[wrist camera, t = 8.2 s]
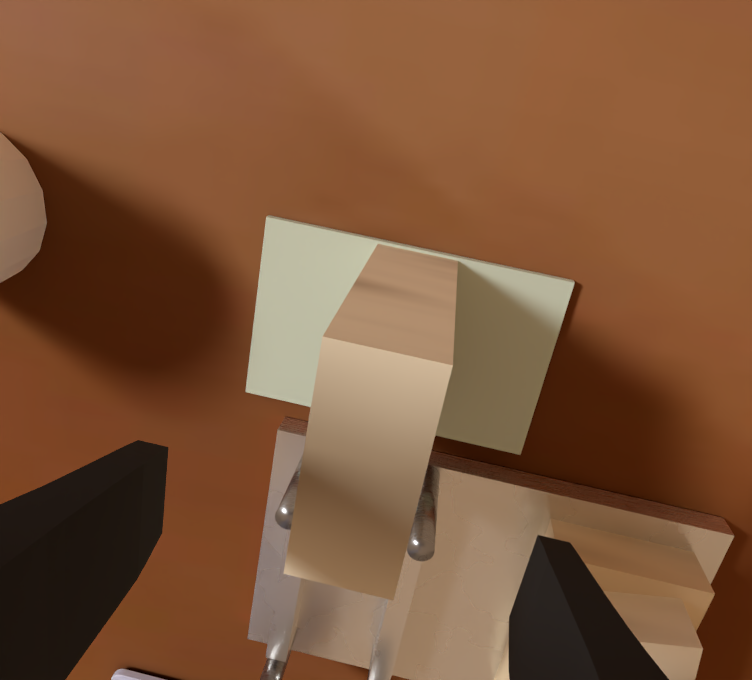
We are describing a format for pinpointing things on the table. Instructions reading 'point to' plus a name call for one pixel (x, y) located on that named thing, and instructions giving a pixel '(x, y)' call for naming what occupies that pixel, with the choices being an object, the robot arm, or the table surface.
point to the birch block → (374, 422)
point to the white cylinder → (18, 211)
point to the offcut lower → (633, 570)
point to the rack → (444, 567)
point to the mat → (471, 337)
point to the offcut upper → (662, 631)
